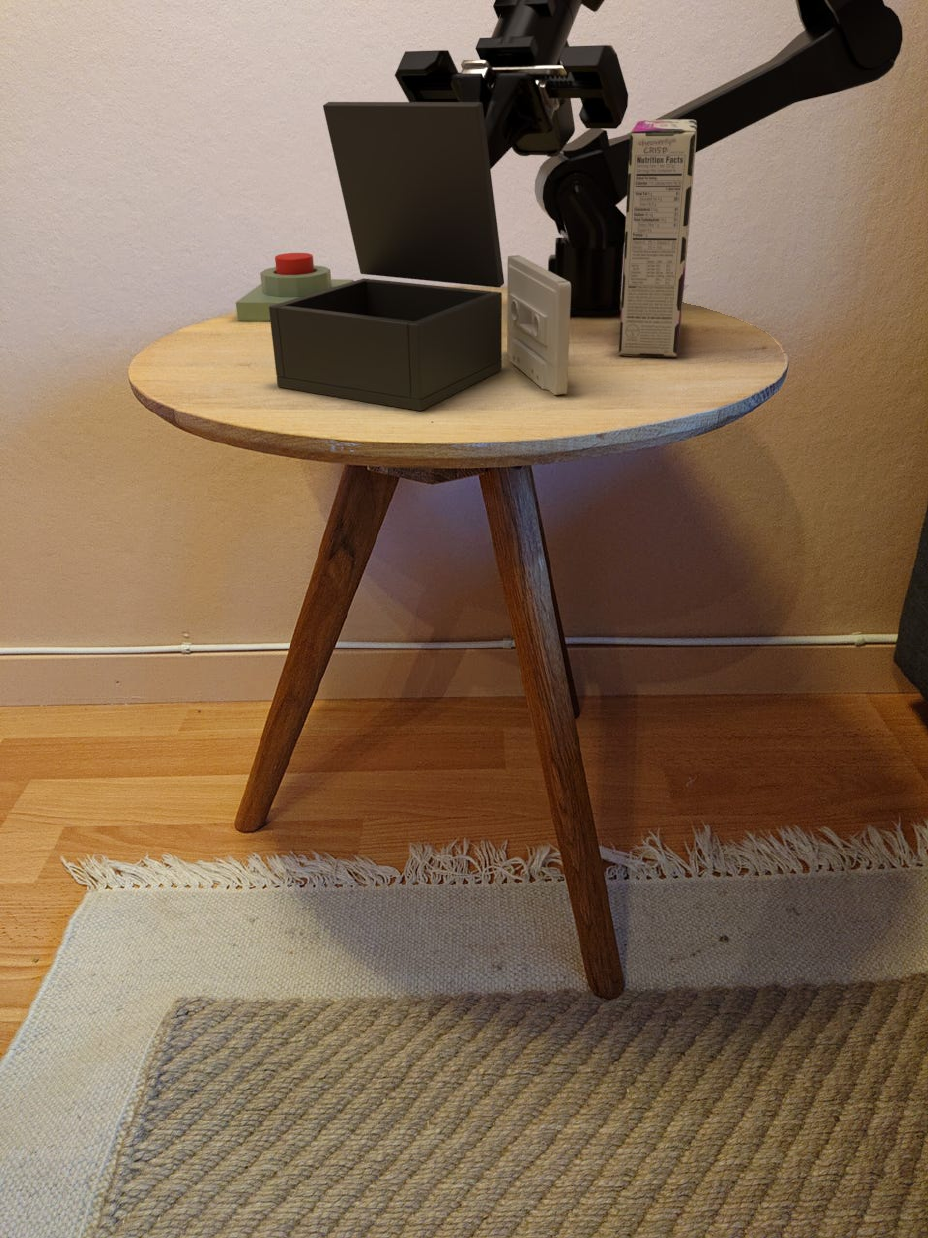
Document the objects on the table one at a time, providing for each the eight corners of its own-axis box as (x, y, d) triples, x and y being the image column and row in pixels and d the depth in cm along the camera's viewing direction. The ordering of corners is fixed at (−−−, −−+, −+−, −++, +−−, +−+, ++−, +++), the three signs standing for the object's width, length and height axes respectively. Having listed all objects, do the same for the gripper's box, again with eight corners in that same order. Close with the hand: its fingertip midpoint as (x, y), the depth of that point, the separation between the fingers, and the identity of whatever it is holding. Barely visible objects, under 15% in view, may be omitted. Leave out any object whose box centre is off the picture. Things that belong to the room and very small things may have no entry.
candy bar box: (622, 324, 87) (636, 118, 79) (679, 326, 86) (699, 118, 78) (614, 356, 77) (628, 126, 69) (677, 359, 76) (700, 126, 68)
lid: (477, 105, 63) (482, 101, 63) (322, 104, 68) (328, 101, 69) (499, 288, 71) (504, 283, 72) (360, 274, 77) (365, 269, 77)
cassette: (574, 394, 69) (579, 282, 65) (549, 397, 68) (552, 284, 64) (522, 353, 79) (524, 253, 75) (500, 355, 78) (500, 255, 74)
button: (282, 271, 95) (280, 252, 94) (318, 271, 95) (316, 252, 94) (272, 278, 92) (270, 258, 91) (309, 278, 91) (308, 258, 91)
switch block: (269, 296, 100) (264, 260, 98) (354, 296, 99) (352, 260, 97) (237, 320, 90) (232, 281, 89) (332, 321, 90) (329, 281, 88)
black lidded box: (421, 411, 66) (417, 324, 63) (277, 386, 71) (268, 306, 68) (501, 370, 74) (502, 291, 72) (367, 350, 80) (363, 277, 77)
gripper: (667, 91, 82) (608, 249, 79) (475, 92, 90) (416, 235, 87) (638, -27, 72) (570, 149, 69) (427, -13, 80) (358, 145, 77)
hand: (473, 175), depth 76 cm, fingers closed
